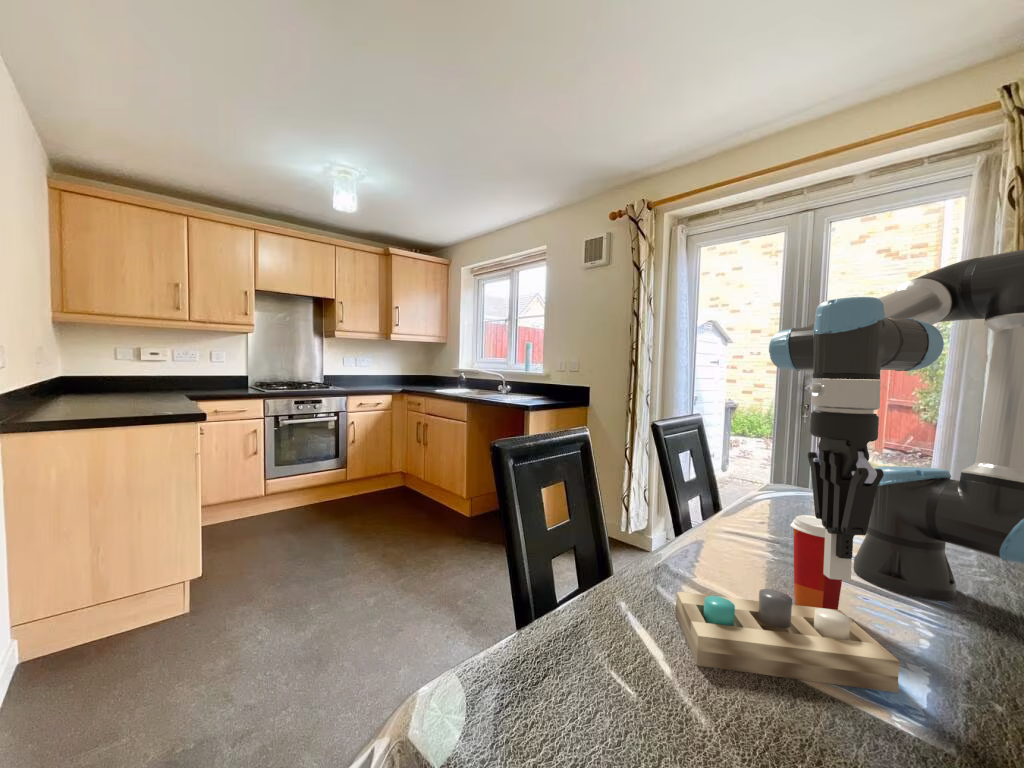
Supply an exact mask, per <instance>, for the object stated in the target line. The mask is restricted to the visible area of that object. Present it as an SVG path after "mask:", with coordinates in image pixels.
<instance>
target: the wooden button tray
mask: <svg viewBox="0 0 1024 768" xmlns="http://www.w3.org/2000/svg"><path fill="white" fill-rule="evenodd" d="M707 596H711V595H709V594H700V593H691V592H683V591H682V592H681V591H676V596H675V597H676V598H675V599H676V600H675V619H676V620H677V623H678V626H679V627H680V630H681V632H682V635H683V637H684V639H685V641H686V645H687V646H688V649H689V650H690V654H691V656H692V658H693V660H694V664H695V665H696V666H697V667H705V668H712V669H720V670H726V671H733V672H740V673H741V672H744V673H749V674H757V675H764V676H770V677H771V676H772V677H779V678H786V679H787V678H788V679H793V680H794V679H795V680H800V681H801V680H803V681H809V682H815V683H816V682H817V683H823V684H831V685H832V684H833V685H838V686H846V687H852V688H860V689H868V690H875V691H883V692H889V693H896V694H897V693H898V691H899V690H898V689H899V688H898V687H899V673H900V672H899V671H900V660H899V659H897V658H896V656H894V655H893V654H892V653H890V651H888V650H887V649H886V648H885V647H883V646H882V644H880V643H879V642H878V641H877V640H875V638H873V637H872V636H871V635H870V634H868V633H867V632H866V631H865V630H864V629H862V628H861V627H860V626H859V625H858V624H857V623H856V622H854V620H852V619H851V618H850V617H849V616H847V614H845V613H844V612H843V611H842V610H841V609H838V610H834V609H830V610H833V611H836V612H839V613H841V614H843V615H845V616H846V617H848V618H849V620H850V634H849V640H842V639H834V638H825V637H822V636H821V635H820V634H819V633H818V632H817V631H816V630H815V629H814V614H815V609H817V607H808V606H799V605H796V604H792V612H791V626H790V627H789V628H778V627H774V626H771V625H768V624H766V623H764V622H763V621H762V620H760V619H759V617H758V608H759V600H753V599H745V598H735V597H727V596H721V597H722V598H725V599H727V600H729V601H731V602H732V603H733V604H734V605H735V614H734V626H727V625H719V624H710V623H706V622H705V620H704V618H703V616H704V599H705V597H707ZM718 597H720V596H719V595H718Z"/></svg>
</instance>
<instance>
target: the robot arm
mask: <svg viewBox="0 0 1024 768" xmlns="http://www.w3.org/2000/svg"><path fill="white" fill-rule="evenodd" d="M969 320H984V326H985V327H986V328H988V329H990V331H992V332H993V333H994V337H993V345H992V349H991V350H992V352H991V359H990V365H989V370H988V379H987V382H986V383H987V385H986V390H985V396H984V403H983V410H982V415H981V416H982V417H981V423H980V429H979V437H978V443H977V447H976V449H977V450H976V455H975V461H974V463H973V464H971V465H970V466H968V467H965V468H964V469H961V470H960V476H959V480H957V479H953V478H952V475H951V473H950V471H949V470H947V469H943V468H942V469H941V468H934V467H923V466H922V467H919V466H890V465H888V466H877V467H875V468H874V467H873V465H872V464H871V463H870V462H869V460H870V453H869V450H868V443H870V442H875V441H877V440H878V438H879V423H880V421H879V420H880V416H879V415H878V414H877V413H875V412H874V411H876V410H879V409H880V408H881V405H880V404H881V372H882V371H896V372H902V371H903V372H910V371H917V370H922V369H925V368H927V367H929V366H931V365H932V364H934V363H935V362H936V361H937V360H938V359H939V358H940V356H941V354H942V352H943V350H944V346H945V342H944V337H943V335H942V333H941V331H940V330H939V329H938V328H937V327H935V326H934V325H935V324H939V323H944V322H955V321H956V322H957V321H969ZM769 341H770V342H769V344H768V353H769V359H770V360H771V363H773V365H775V367H776V368H778V369H781V370H783V371H784V370H785V371H786V370H789V371H790V370H791V371H795V372H800V371H812V385H811V386H810V387H809V391H810V392H811V405H812V406H813V407H815V408H816V409H815V410H812V412H810V422H809V433H810V435H812V436H813V437H816V438H819V439H820V440H819V443H818V445H817V449H818V450H817V451H809V452H807V459H808V463H809V465H810V466H809V467H810V473H811V483H812V484H811V485H812V495H813V506H814V516H816V518H817V519H821V520H822V525H823V527H825V546H824V571H823V574H824V575H825V576H827V577H828V578H829V579H837V580H842V581H850V582H851V580H852V569H853V571H854V573H855V574H856V575H858V576H859V577H860V578H862V579H864V580H865V581H866V582H869V583H871V584H874V585H876V586H878V587H880V588H884V589H886V590H889V591H892V592H896V593H899V594H903V595H906V596H911V597H915V598H920V599H925V600H931V601H949V600H950V601H951V600H954V599H955V598H957V597H956V596H957V583H956V580H955V577H954V574H953V572H952V571H953V570H952V569H951V566H950V563H949V560H948V557H947V555H946V543H948V544H950V545H954V546H957V547H961V548H964V549H968V550H970V551H974V552H978V553H980V554H985V555H988V556H990V557H991V556H992V557H994V558H996V559H997V558H998V559H1001V560H1002V561H1004V562H1006V563H1015V564H1019V565H1023V566H1024V248H1023V249H1018V250H1012V251H1007V252H1003V253H997V254H993V255H986V256H981V257H975V258H971V259H965V260H962V261H959V262H955V263H952V264H949V265H946V266H943V267H941V268H938V269H935V270H933V271H931V272H928V273H926V274H923V275H921V276H917V277H916V278H912V279H911V280H908V281H906V282H904V283H901V285H900V286H897V288H896V289H895V290H894V292H891V293H890V294H886V295H884V296H881V297H873V296H855V297H854V296H853V297H842V298H835V299H829V300H825V301H822V302H821V303H820V304H818V306H817V307H816V310H815V317H814V323H812V324H809V325H807V326H803V327H798V328H796V327H791V328H788V329H782V330H780V331H777V332H776V333H774V334H773V336H772V337H771V339H770V340H769ZM855 536H864V539H863V540H862V543H861V544H860V547H859V549H858V551H857V553H856V555H855V556H854V559H853V552H854V551H853V548H854V545H853V544H854V537H855ZM852 560H853V562H852ZM852 563H853V564H852ZM852 565H853V568H852Z"/></svg>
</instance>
